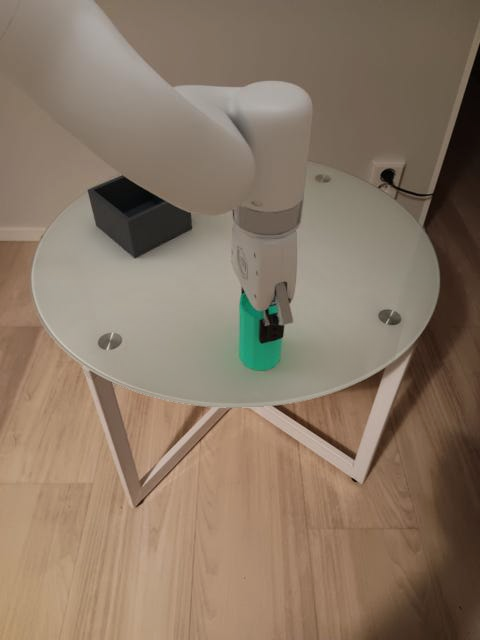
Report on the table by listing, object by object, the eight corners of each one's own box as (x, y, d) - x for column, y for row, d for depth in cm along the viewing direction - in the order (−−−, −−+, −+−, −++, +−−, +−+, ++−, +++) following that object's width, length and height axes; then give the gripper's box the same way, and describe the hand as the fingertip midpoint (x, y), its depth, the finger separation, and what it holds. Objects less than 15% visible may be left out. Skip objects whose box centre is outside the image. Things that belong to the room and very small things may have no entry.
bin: (134, 258, 87) (127, 221, 82) (95, 225, 94) (87, 189, 88) (192, 228, 93) (189, 192, 87) (152, 199, 99) (147, 164, 94)
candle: (232, 363, 72) (231, 302, 63) (248, 333, 75) (249, 272, 67) (272, 376, 70) (277, 315, 61) (286, 345, 74) (293, 284, 65)
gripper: (210, 172, 59) (215, 286, 72) (263, 263, 48) (258, 378, 61) (270, 162, 61) (264, 274, 74) (334, 247, 50) (314, 362, 63)
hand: (261, 320), depth 68 cm, fingers closed on candle, 5 cm apart
